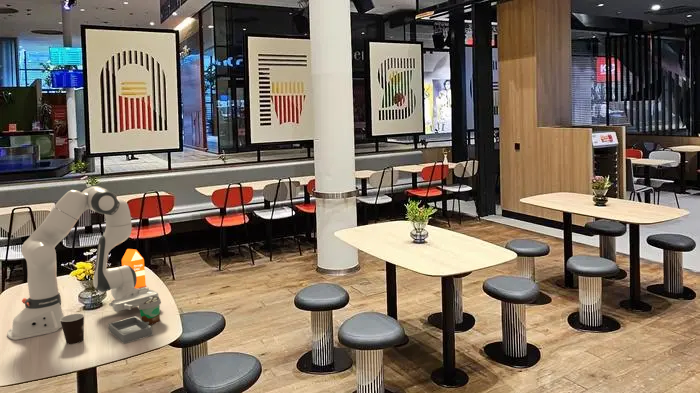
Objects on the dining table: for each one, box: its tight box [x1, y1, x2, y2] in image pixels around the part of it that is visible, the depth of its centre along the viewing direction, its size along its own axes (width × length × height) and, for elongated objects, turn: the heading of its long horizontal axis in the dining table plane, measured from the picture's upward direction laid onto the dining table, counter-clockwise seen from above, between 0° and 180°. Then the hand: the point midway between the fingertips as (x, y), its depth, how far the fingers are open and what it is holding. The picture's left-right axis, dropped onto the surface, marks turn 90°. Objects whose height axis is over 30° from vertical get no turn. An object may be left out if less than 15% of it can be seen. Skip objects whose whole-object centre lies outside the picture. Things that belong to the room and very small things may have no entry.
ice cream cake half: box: [138, 295, 162, 326], centre depth 242 cm, size 12×6×10 cm, turn 170°
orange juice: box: [121, 248, 147, 288], centre depth 293 cm, size 8×9×20 cm
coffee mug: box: [60, 313, 85, 345], centre depth 226 cm, size 12×9×10 cm
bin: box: [107, 315, 153, 345], centre depth 231 cm, size 12×18×4 cm, turn 41°
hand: (141, 305), depth 248 cm, fingers open, 8 cm apart
